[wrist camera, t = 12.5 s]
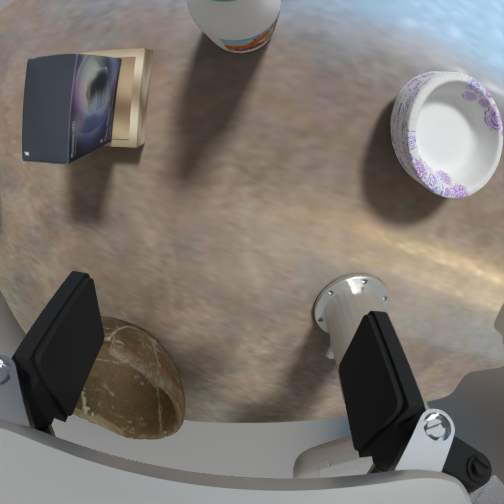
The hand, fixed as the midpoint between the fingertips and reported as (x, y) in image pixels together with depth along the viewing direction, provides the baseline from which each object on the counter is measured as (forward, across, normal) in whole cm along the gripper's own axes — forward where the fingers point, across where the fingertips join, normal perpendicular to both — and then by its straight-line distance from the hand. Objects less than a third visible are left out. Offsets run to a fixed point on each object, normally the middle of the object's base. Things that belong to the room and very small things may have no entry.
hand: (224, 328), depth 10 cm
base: (+30, +19, -5) cm, 36 cm away
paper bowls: (+31, -23, -8) cm, 39 cm away
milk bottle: (+31, +3, -15) cm, 34 cm away
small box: (+27, +19, -5) cm, 34 cm away
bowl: (+31, +18, +37) cm, 51 cm away
